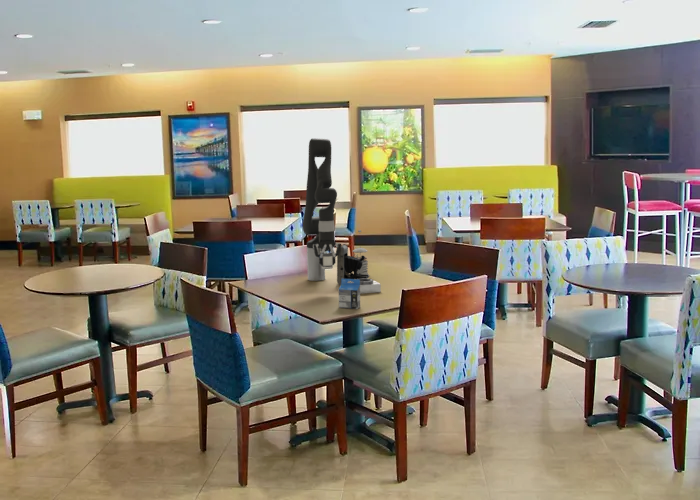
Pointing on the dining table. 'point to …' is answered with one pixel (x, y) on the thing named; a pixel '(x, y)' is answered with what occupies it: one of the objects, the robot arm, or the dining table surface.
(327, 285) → the dining table surface
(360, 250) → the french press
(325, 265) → the cream grey cylinder
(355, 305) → the blue printed box
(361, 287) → the octagonal ring slab
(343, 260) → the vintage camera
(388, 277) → the dining table surface
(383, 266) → the dining table surface
